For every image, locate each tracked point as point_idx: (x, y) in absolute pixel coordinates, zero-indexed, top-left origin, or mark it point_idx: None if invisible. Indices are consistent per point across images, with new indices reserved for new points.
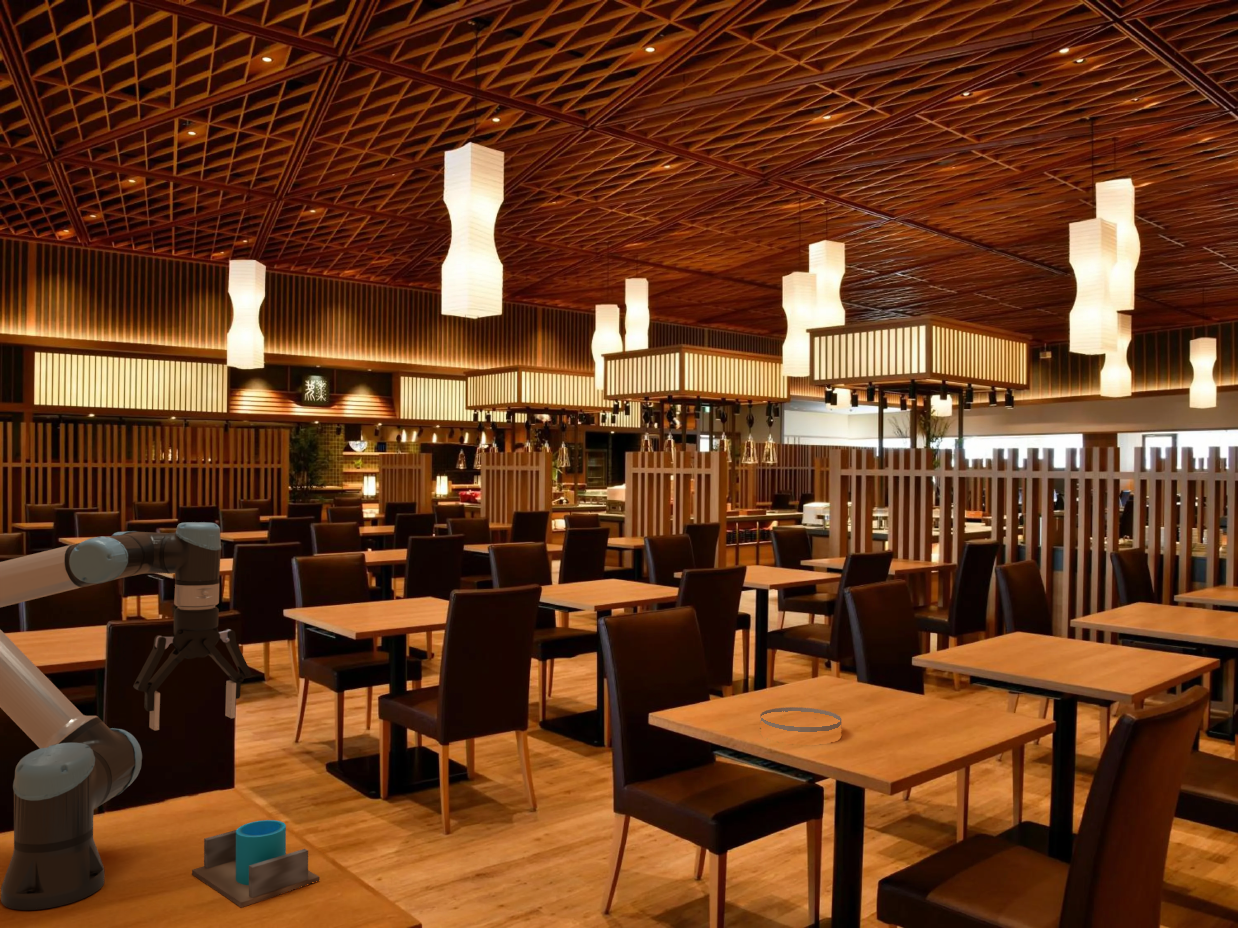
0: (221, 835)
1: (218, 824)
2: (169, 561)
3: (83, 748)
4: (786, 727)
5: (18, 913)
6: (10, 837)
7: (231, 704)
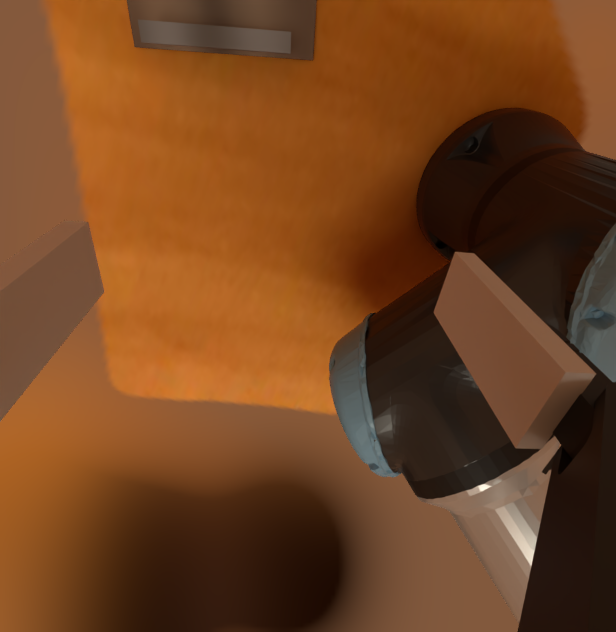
0: (249, 37)
1: (176, 274)
2: None
3: None
4: None
5: None
6: None
7: (46, 254)
